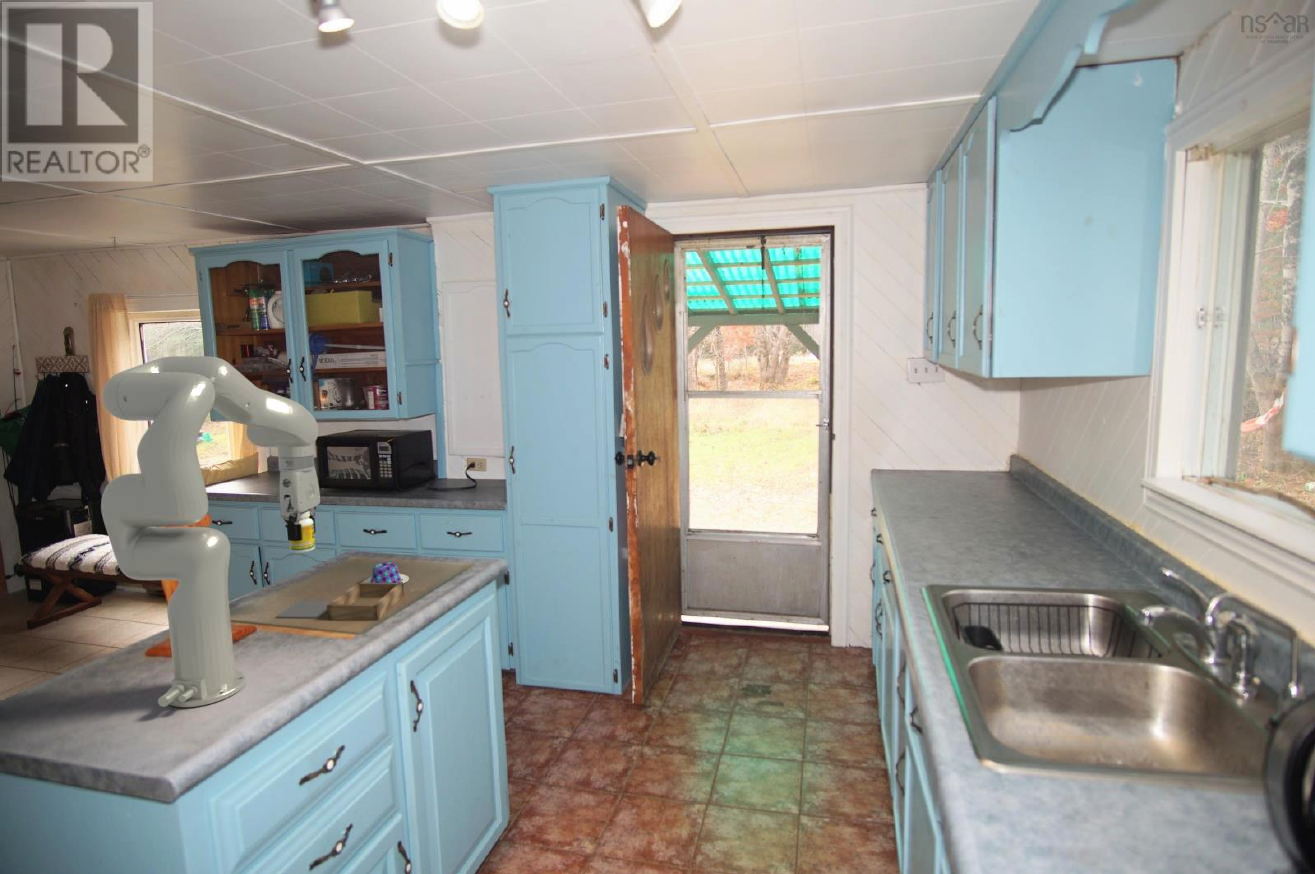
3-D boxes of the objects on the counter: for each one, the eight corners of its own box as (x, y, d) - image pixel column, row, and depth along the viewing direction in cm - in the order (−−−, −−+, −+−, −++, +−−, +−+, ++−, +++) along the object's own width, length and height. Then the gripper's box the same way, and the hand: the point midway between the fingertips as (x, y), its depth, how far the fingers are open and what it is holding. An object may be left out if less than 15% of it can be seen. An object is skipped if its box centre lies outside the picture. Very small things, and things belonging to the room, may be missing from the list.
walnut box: (377, 620, 164) (376, 606, 163) (327, 619, 164) (326, 605, 164) (403, 595, 180) (403, 582, 179) (358, 595, 180) (357, 582, 179)
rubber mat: (317, 618, 165) (317, 616, 165) (276, 617, 165) (276, 616, 165) (337, 602, 175) (337, 601, 175) (298, 602, 175) (298, 600, 175)
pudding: (374, 575, 196) (373, 558, 195) (416, 576, 195) (415, 558, 195) (353, 590, 184) (352, 571, 184) (397, 591, 184) (396, 572, 183)
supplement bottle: (288, 549, 168) (285, 511, 167) (312, 545, 172) (309, 507, 171) (293, 554, 164) (290, 515, 163) (317, 550, 168) (315, 511, 166)
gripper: (292, 469, 157) (298, 547, 159) (329, 457, 174) (334, 527, 176) (259, 469, 157) (266, 547, 159) (300, 457, 174) (305, 527, 176)
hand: (302, 536), depth 168 cm, fingers closed on supplement bottle, 5 cm apart
